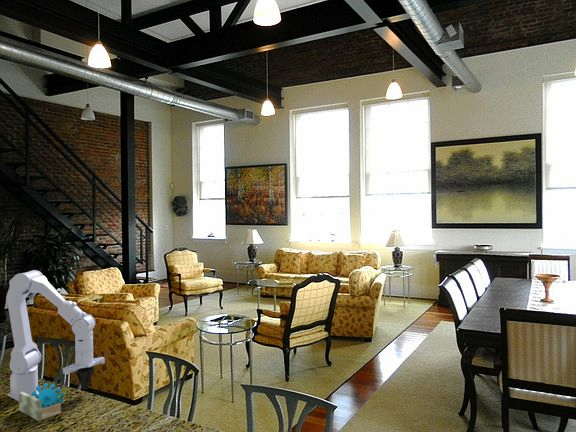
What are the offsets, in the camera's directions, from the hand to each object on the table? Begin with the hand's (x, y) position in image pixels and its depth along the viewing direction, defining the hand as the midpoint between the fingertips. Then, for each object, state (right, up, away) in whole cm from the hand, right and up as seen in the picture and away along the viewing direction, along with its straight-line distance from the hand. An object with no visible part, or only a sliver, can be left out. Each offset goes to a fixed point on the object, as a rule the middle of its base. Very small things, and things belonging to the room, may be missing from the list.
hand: (84, 388), depth 162 cm
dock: (-9, -3, -13) cm, 16 cm away
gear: (-7, -3, -10) cm, 13 cm away
